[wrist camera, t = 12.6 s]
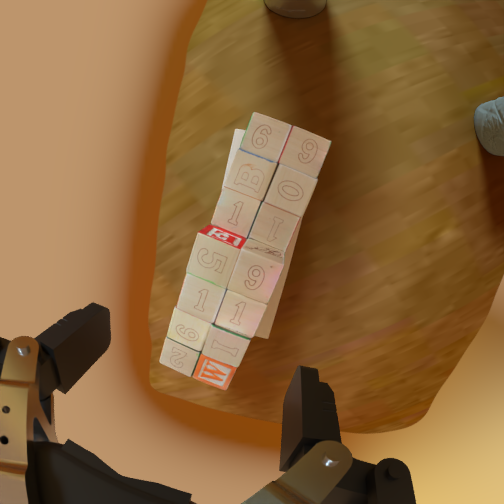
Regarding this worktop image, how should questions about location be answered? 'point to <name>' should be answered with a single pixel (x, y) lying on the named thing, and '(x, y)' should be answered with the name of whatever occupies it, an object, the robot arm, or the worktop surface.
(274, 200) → the stack of blocks
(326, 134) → the worktop surface
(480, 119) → the blue cup
